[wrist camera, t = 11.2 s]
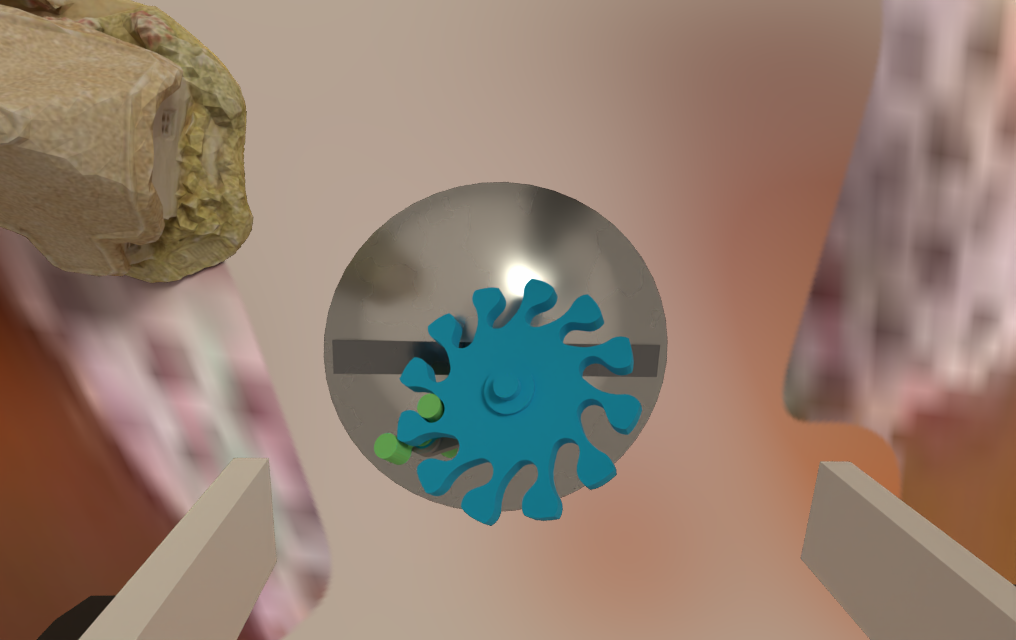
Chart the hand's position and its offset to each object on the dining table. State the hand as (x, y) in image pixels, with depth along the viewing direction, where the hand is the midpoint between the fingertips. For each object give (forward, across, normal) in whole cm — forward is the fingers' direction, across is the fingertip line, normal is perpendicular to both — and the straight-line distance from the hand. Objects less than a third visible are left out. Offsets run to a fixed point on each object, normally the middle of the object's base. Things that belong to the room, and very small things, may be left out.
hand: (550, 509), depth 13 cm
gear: (+13, -1, -1) cm, 13 cm away
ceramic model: (+14, -18, +9) cm, 25 cm away
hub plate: (+14, -1, 0) cm, 14 cm away
